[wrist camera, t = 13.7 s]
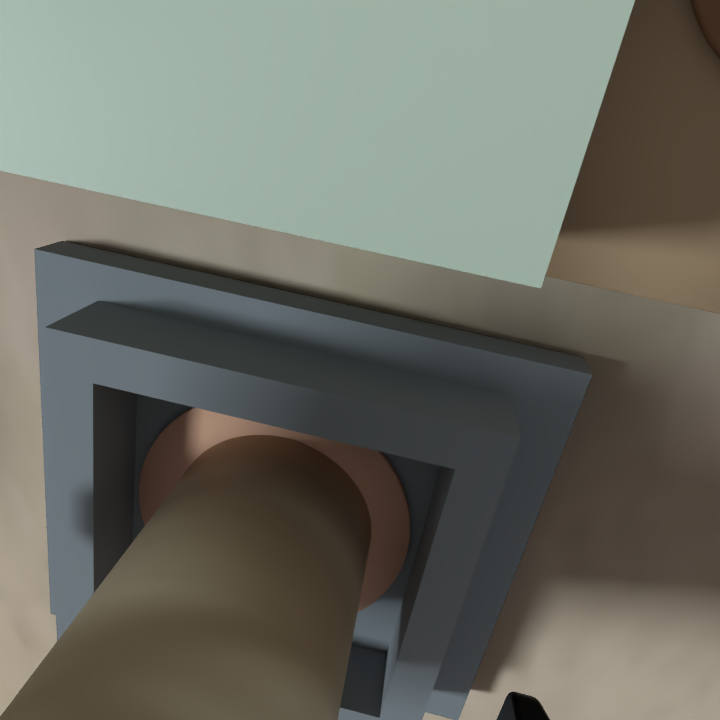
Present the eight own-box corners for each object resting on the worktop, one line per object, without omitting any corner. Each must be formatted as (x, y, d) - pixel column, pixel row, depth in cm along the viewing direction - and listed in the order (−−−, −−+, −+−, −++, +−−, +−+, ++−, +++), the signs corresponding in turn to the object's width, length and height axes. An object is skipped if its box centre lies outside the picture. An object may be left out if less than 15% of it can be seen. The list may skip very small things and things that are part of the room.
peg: (393, 461, 10) (268, 1232, 3) (353, 620, 12) (212, 1372, 5) (182, 410, 11) (-389, 1020, 3) (171, 573, 12) (-232, 1223, 5)
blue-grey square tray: (581, 357, 10) (616, 416, 8) (457, 689, 14) (459, 789, 12) (62, 240, 11) (-31, 268, 9) (70, 588, 14) (6, 668, 12)
